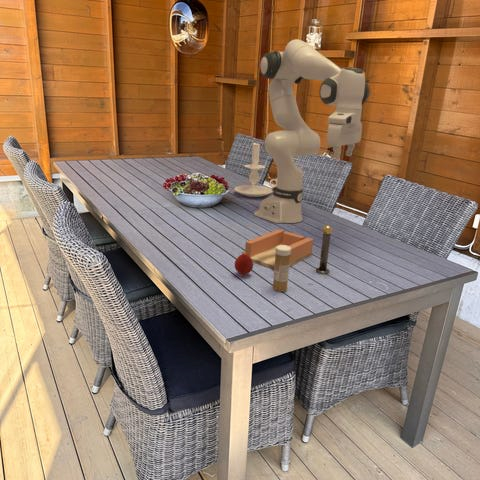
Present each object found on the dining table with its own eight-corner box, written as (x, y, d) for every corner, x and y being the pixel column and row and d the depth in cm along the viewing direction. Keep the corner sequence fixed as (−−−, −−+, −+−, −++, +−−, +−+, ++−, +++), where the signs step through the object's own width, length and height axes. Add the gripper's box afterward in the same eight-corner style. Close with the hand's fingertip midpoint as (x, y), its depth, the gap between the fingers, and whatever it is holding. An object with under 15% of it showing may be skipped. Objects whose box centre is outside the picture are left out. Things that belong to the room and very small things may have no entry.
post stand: (313, 271, 151) (318, 225, 145) (319, 267, 154) (325, 222, 149) (325, 275, 148) (330, 228, 143) (331, 271, 152) (337, 225, 146)
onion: (251, 272, 148) (253, 249, 145) (252, 279, 143) (254, 255, 140) (233, 271, 148) (234, 248, 145) (234, 279, 142) (235, 255, 140)
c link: (277, 241, 173) (278, 229, 171) (312, 252, 164) (313, 239, 163) (244, 255, 158) (245, 241, 157) (280, 267, 150) (281, 253, 148)
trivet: (242, 258, 159) (242, 255, 158) (275, 243, 174) (276, 240, 174) (280, 271, 149) (280, 268, 149) (312, 254, 165) (312, 251, 165)
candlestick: (286, 198, 241) (290, 145, 231) (243, 201, 231) (246, 145, 222) (268, 189, 258) (272, 139, 249) (228, 191, 249) (230, 139, 239)
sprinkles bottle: (271, 285, 139) (274, 244, 135) (286, 285, 140) (289, 244, 135) (273, 292, 135) (277, 249, 130) (288, 292, 135) (292, 250, 131)
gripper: (352, 115, 168) (347, 153, 172) (325, 117, 152) (321, 158, 157) (368, 117, 164) (363, 155, 169) (343, 119, 149) (337, 161, 154)
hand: (342, 157), depth 163 cm, fingers open, 8 cm apart
